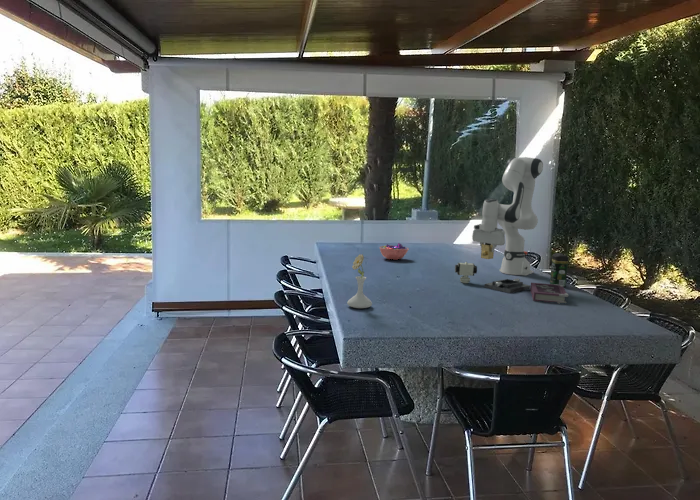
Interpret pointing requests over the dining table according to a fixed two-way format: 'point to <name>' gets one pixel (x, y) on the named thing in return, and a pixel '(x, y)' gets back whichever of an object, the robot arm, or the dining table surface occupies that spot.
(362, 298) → the flower in vase
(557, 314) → the dining table surface
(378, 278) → the dining table surface
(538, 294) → the book
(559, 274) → the coffee jar
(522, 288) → the plate
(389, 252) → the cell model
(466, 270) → the pneumatic valve
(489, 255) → the brass valve
